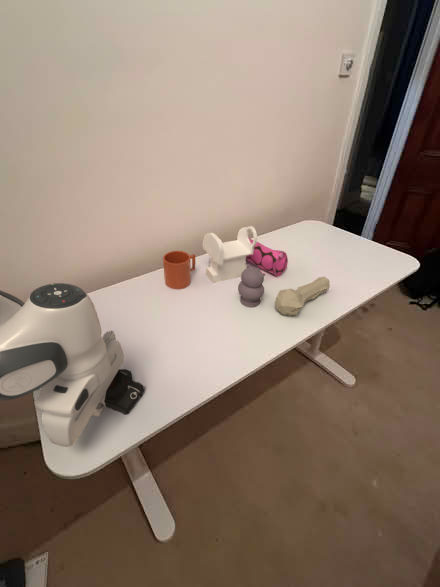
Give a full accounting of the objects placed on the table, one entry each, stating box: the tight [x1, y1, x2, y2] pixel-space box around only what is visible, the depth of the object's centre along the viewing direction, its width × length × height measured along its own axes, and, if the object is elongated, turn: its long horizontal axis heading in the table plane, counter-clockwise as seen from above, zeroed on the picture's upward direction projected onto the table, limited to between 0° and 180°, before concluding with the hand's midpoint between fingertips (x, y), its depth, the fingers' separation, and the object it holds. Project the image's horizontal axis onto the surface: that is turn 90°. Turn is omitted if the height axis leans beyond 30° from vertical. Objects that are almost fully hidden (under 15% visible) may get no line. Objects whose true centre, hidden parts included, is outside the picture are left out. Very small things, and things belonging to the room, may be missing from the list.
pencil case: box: [246, 235, 289, 277], centre depth 111 cm, size 21×10×10 cm, turn 45°
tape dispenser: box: [202, 225, 258, 284], centre depth 102 cm, size 14×13×18 cm
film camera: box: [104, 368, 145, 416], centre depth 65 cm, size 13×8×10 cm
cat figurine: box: [237, 263, 266, 308], centre depth 92 cm, size 8×8×12 cm
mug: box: [162, 250, 196, 290], centre depth 101 cm, size 12×9×10 cm
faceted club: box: [274, 276, 331, 316], centre depth 95 cm, size 9×8×25 cm
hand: (98, 410), depth 61 cm, fingers closed
